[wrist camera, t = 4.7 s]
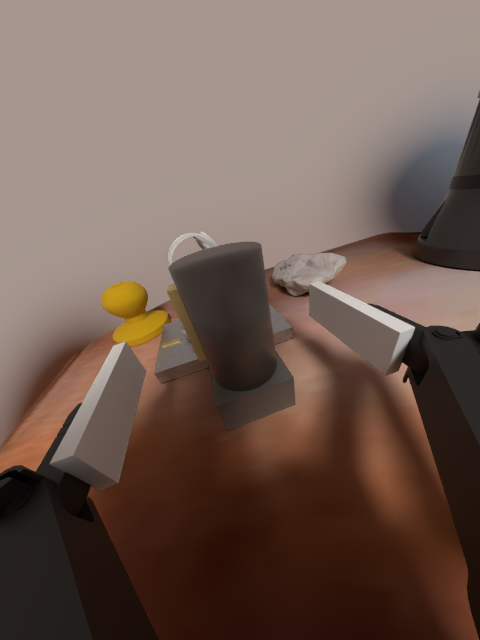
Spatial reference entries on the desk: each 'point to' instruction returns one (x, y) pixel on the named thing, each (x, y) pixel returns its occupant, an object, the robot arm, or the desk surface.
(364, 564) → the desk surface
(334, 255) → the fossil
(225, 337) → the cylinder
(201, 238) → the watch
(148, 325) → the yellow stacked oval discs
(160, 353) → the hub plate
